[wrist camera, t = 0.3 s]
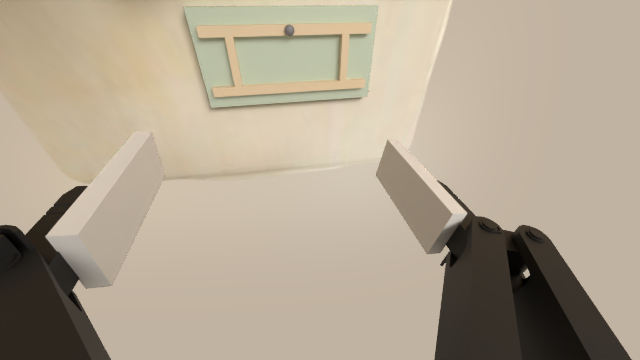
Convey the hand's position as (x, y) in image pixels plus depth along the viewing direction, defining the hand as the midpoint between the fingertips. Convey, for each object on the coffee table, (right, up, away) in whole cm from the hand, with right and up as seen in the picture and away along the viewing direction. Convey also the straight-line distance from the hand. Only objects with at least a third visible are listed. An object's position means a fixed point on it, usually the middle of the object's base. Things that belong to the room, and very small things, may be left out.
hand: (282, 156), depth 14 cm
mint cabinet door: (-2, +16, +21) cm, 26 cm away
